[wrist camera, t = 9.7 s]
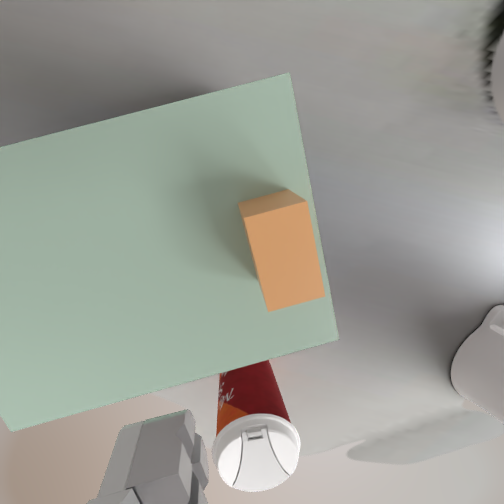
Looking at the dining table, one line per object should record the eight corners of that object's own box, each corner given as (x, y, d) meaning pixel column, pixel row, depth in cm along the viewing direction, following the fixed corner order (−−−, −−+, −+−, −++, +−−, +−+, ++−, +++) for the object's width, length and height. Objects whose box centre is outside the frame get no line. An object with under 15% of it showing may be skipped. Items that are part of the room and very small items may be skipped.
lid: (285, 76, 18) (311, 52, 13) (333, 330, 24) (364, 379, 19) (-127, 182, 18) (-258, 198, 13) (20, 417, 23) (-31, 492, 18)
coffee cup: (207, 336, 42) (205, 436, 28) (271, 326, 42) (301, 419, 28) (217, 390, 45) (218, 505, 30) (277, 380, 45) (306, 488, 31)
